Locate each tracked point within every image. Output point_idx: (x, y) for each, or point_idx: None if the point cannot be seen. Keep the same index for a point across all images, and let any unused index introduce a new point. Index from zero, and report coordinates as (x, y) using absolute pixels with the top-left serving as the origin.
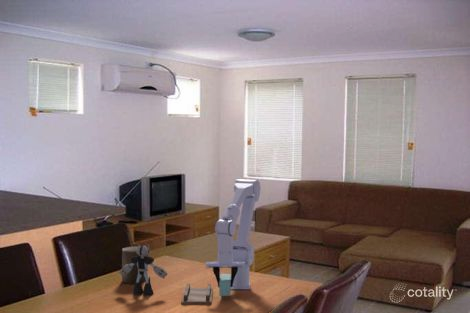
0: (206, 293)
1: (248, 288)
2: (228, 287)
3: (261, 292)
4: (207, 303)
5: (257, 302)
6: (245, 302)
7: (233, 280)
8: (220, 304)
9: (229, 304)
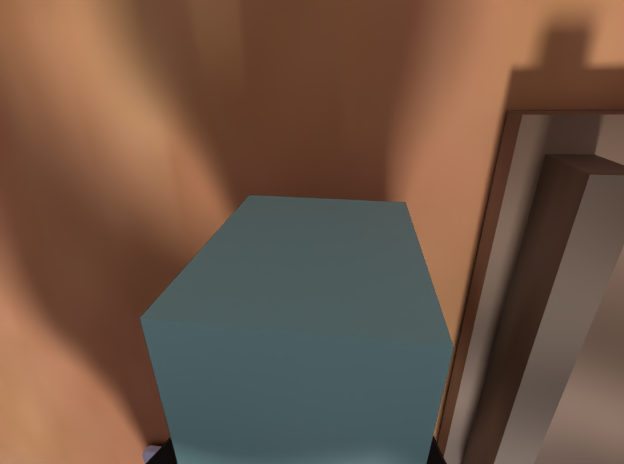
0: (612, 259)
1: (155, 451)
2: (234, 251)
3: (59, 391)
4: (565, 111)
5: (9, 175)
6: (118, 176)
7: (149, 462)
8: (385, 109)
9: (276, 110)
